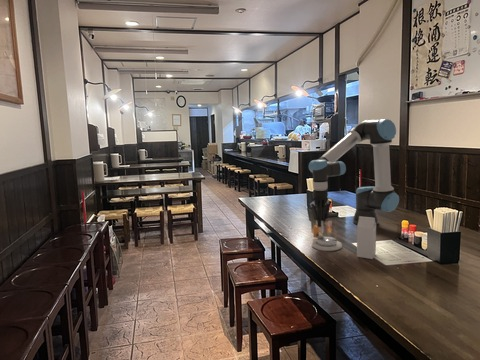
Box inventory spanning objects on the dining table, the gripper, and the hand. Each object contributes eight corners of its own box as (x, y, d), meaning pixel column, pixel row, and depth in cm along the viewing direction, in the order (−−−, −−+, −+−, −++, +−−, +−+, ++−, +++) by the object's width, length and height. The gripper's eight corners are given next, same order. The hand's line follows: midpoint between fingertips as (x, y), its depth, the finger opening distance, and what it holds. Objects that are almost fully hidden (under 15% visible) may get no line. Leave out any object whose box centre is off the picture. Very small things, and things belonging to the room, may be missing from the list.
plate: (343, 242, 185) (343, 237, 185) (339, 252, 172) (339, 246, 171) (315, 240, 191) (315, 235, 191) (309, 249, 178) (309, 243, 177)
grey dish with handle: (320, 237, 191) (320, 223, 190) (340, 243, 180) (340, 228, 179) (308, 241, 185) (307, 227, 183) (328, 247, 174) (328, 232, 173)
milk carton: (372, 259, 161) (373, 219, 158) (356, 257, 165) (357, 218, 162) (375, 254, 167) (376, 216, 164) (360, 252, 171) (360, 214, 168)
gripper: (326, 186, 189) (326, 228, 193) (306, 189, 185) (307, 232, 188) (334, 188, 182) (335, 232, 186) (314, 191, 178) (315, 236, 181)
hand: (321, 232), depth 187 cm, fingers closed
